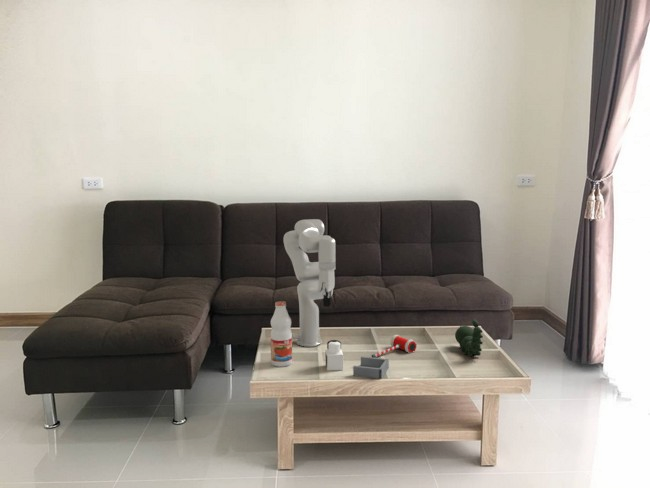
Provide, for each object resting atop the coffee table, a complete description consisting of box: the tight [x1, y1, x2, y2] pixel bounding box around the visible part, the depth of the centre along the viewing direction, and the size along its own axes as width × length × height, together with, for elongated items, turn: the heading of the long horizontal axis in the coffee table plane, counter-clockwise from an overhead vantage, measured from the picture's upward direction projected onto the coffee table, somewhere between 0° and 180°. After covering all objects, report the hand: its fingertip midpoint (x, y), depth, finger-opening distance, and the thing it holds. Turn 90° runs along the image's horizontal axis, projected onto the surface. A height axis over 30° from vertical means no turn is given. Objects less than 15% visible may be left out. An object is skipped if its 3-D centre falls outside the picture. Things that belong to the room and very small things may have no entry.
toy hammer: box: [371, 334, 418, 358], centre depth 274 cm, size 23×12×6 cm, turn 128°
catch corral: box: [352, 356, 390, 380], centre depth 250 cm, size 12×13×4 cm
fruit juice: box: [270, 300, 293, 368], centre depth 260 cm, size 9×9×28 cm
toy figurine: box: [454, 318, 484, 357], centre depth 275 cm, size 9×19×25 cm
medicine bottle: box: [324, 339, 344, 371], centre depth 255 cm, size 7×7×12 cm
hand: (327, 305), depth 263 cm, fingers closed
